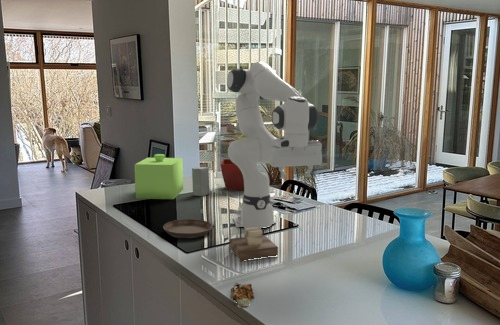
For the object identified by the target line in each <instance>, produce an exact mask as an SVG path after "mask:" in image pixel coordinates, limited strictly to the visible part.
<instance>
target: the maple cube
mask: <svg viewBox="0 0 500 325" xmlns="http://www.w3.org/2000/svg"><path fill="white" fill-rule="evenodd" d="M262 235H263V231H262V229H259V228H258V227H253V228H244V237H245V242H246V243H247V244H248V245H258V244H262Z"/></svg>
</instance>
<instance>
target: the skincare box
mask: <svg viewBox="0 0 500 325" xmlns="http://www.w3.org/2000/svg"><path fill="white" fill-rule="evenodd" d="M191 171H192V172H191V178H192V196H198V197H204V196H206V195H210V172H209V171H210V169H209V167H207V166H198V167H194V168H192V169H191Z"/></svg>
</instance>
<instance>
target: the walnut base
mask: <svg viewBox="0 0 500 325" xmlns="http://www.w3.org/2000/svg"><path fill="white" fill-rule="evenodd" d="M229 249H231V250H232V251H233V252H234V253H235V254H234V253H233V252H232V251H231V250H230V251H231V252H232V253H233V254H234V256H235V257H236V256H237V257H238V258H239V259H240V260H241V261H244V260H248V259H254V258H261V257H268V256H276V255H279V246H278V245H276V243H274V242H273V241H272V240H271V239H269V238H268V237H267V236H266V235H264V234H262V244H258V245H248V244H247V243H246V242H245V236H243V237H242V236H241V237H233V238H232V237H231V238H229ZM237 257H236V258H237ZM238 258H237V259H238ZM239 259H238V260H239ZM240 260H239V261H240ZM241 261H240V262H241ZM244 262H245V261H244Z"/></svg>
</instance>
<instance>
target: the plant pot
mask: <svg viewBox="0 0 500 325" xmlns="http://www.w3.org/2000/svg"><path fill="white" fill-rule="evenodd" d="M220 170H221V174H222V180H223V183H224V186H225V190H226V191H244V178H243V175H242V172H241V170H240V169H239V167H238V166H237V165H236V164H234V163H233V162H232V161H231V160H230V158H224V159H222V161H221V162H220Z"/></svg>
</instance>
